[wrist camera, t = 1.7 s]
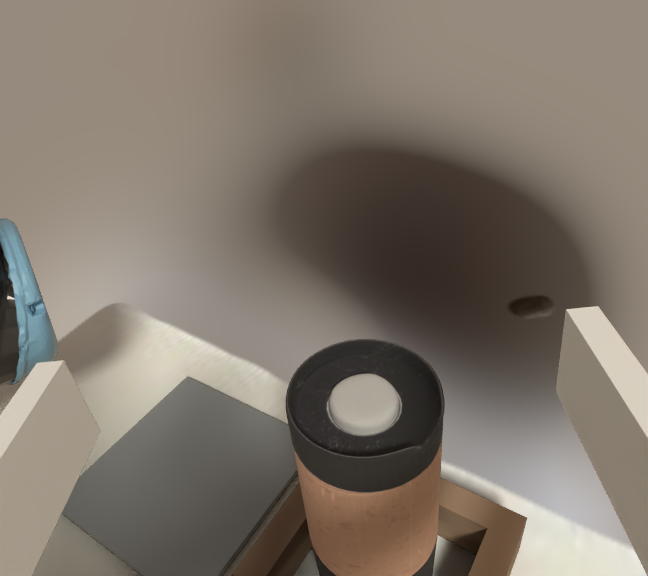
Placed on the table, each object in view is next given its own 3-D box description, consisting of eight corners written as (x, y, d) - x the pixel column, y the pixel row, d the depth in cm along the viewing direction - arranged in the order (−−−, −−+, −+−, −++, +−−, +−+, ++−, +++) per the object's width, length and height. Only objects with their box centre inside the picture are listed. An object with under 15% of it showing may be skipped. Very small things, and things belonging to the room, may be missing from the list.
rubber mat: (53, 507, 45) (50, 503, 44) (188, 380, 55) (187, 376, 55) (192, 614, 37) (190, 611, 37) (319, 444, 47) (318, 439, 47)
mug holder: (225, 628, 36) (212, 602, 34) (340, 460, 46) (337, 430, 43) (434, 786, 29) (436, 767, 27) (519, 547, 39) (527, 517, 36)
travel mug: (316, 543, 40) (277, 348, 28) (416, 525, 41) (420, 326, 29) (330, 660, 34) (289, 475, 22) (448, 637, 34) (470, 444, 22)
